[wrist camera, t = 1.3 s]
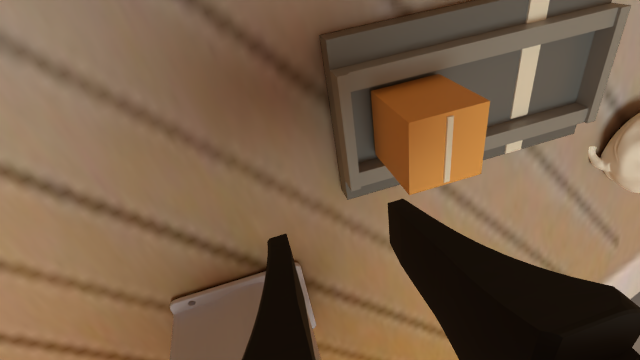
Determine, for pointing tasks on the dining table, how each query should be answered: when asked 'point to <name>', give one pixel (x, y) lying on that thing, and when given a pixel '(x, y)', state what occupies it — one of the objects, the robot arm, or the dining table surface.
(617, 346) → the robot arm
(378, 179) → the fader console
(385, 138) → the fader tab
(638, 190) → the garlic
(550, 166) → the dining table surface
